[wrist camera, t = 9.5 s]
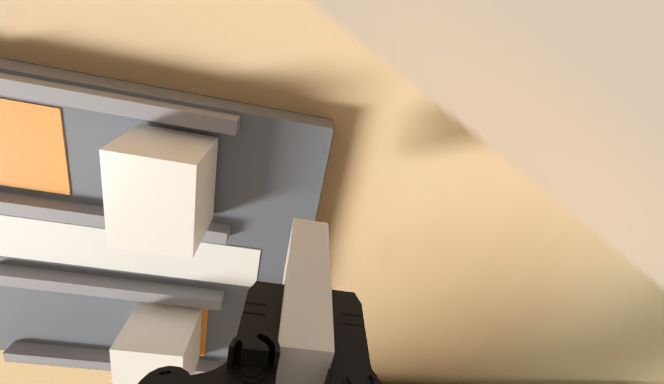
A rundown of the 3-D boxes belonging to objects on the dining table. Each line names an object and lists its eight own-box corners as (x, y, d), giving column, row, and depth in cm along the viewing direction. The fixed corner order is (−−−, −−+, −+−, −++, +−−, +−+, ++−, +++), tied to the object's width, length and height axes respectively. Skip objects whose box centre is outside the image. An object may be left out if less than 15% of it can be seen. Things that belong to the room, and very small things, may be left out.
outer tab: (213, 217, 21) (192, 258, 18) (142, 207, 21) (106, 247, 17) (218, 137, 19) (196, 165, 16) (140, 123, 19) (99, 149, 15)
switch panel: (284, 354, 30) (282, 388, 27) (-37, 321, 27) (-76, 355, 24) (332, 119, 22) (334, 134, 19) (-129, 34, 19) (-204, 37, 16)
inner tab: (199, 358, 27) (181, 411, 23) (142, 352, 26) (114, 406, 22) (202, 306, 24) (183, 356, 21) (140, 299, 24) (109, 349, 20)
